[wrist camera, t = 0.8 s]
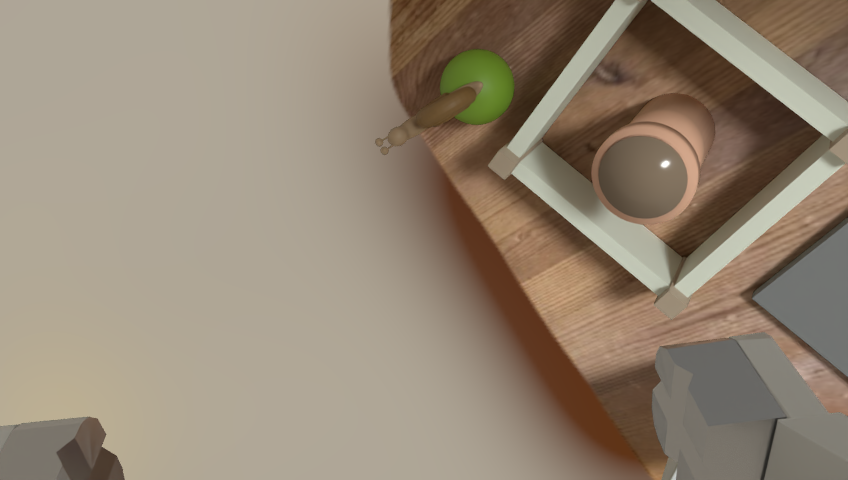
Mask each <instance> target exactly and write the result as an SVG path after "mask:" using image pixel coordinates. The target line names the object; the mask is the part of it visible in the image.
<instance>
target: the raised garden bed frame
mask: <svg viewBox="0 0 848 480" xmlns="http://www.w3.org/2000/svg"><path fill="white" fill-rule="evenodd" d="M647 1H648V0H615V1H614V3H613V4H612V5H611V7H610V8H609V9H608V11H607V12H606V13H605V15H604V16H603V17H602V19H601V20H600V22H599V23H598V24H597V26H596V27H595V28H594V30H593V31H592V32H591V34H590V35H589V36H588V38H587V39H586V41H585V42H584V43H583V45H582V46H581V47H580V49H579V50H578V51H577V53H576V54H575V55H574V57H573V58H572V60H571V61H570V62H569V64H568V65H567V66H566V68H565V69H564V70H563V72H562V73H561V74H560V76H559V77H558V78H557V80H556V81H555V83H554V84H553V85H552V87H551V88H550V89H549V91H548V92H547V93H546V95H545V96H544V97H543V99H542V100H541V102H540V103H539V104H538V106H537V107H536V108H535V110H534V111H533V112H532V114H531V115H530V116H529V118H528V119H527V121H526V122H525V123H524V125H523V126H522V127H521V129H520V130H519V131H518V133H517V134H516V135H515V137H514V138H513V139H512V140H511V141H510V142H508V143H507V144H506V145H505V146H504V147H502V148H501V149H500V150H499V151H498V152H497V154H496V155H495V156H494V158H493V159H492V160H491V162H490V163H489V165H488V167H489V168H490V169H492V170H493V171H494V172H495V173H496V174H498V175H499V176H500V177H501V178H502V179H504V180H505V179H506V178H507V177H508V176H510V175H511V174H513V175H514V176H515V177H516V178H517V179H519V180H520V181H521V182H522V183H523V184H525V185H526V186H527V187H528V188H529V189H531V190H532V191H533V192H534V193H535V194H537V195H538V196H539V197H540V198H541V199H543V200H544V201H545V202H546V203H547V204H549V205H550V206H551V207H552V208H553V209H555V210H556V211H557V212H558V213H559V214H561V215H562V216H563V217H564V218H565V219H567V220H568V221H569V222H570V223H571V224H572V225H574V226H575V227H576V228H577V229H578V230H580V231H581V232H582V233H583V234H584V235H586V236H587V237H588V238H589V239H590V240H592V241H593V242H594V243H595V244H596V245H598V246H599V247H600V248H601V249H602V250H604V251H605V252H606V253H607V254H608V255H610V256H611V257H612V258H613V259H614V260H616V261H617V262H618V263H619V264H620V265H622V266H623V267H624V268H625V269H626V270H628V271H629V272H630V273H631V274H632V275H634V276H635V277H636V278H637V279H638V280H640V281H641V282H642V283H643V284H644V285H646V286H647V287H648V288H649V289H650V290H652V291H653V292H654V293H655V294H656V295H658V296H657V298H656V300H655V302H654V306H655V307H657V308H658V309H659V310H660V311H661V312H663V313H664V314H665V315H666V316H667V317H669V318H670V319H671V320H672V319H673V318H674V317H676V316H677V315H678V314H679V313H680V312H682V311H683V310H684V309H685V308H686V307H687V306H688V303H689V301H690V298H691V296H692V294H693V293H694V292H695V291H696V290H697V289H699V288H700V287H701V286H702V285H703V284H704V283H706V282H707V281H708V280H709V279H710V278H711V277H713V276H714V275H715V274H716V273H717V272H719V271H720V270H721V269H722V268H723V267H724V266H726V265H727V264H728V263H729V262H730V261H731V260H733V259H734V258H735V257H736V256H737V255H738V254H740V253H741V252H742V251H743V250H744V249H746V248H747V247H748V246H749V245H750V244H751V243H753V242H754V241H755V240H756V239H757V238H758V237H760V236H761V235H762V234H763V233H764V232H765V231H767V230H768V229H769V228H770V227H771V226H773V225H774V224H775V223H776V222H777V221H778V220H780V219H781V218H782V217H783V216H784V215H785V214H787V213H788V212H789V211H790V210H791V209H792V208H794V207H795V206H796V205H797V204H798V203H800V202H801V201H802V200H803V199H804V198H805V197H807V196H808V195H809V194H810V193H811V192H812V191H814V190H815V189H816V188H817V187H818V186H819V185H821V184H822V183H823V182H824V181H825V180H827V179H828V178H829V177H830V176H831V175H832V174H834V173H835V172H836V171H837V170H838V169H839V168H841V167H842V166H843V165H844V164H845V163H846V164H848V102H847V101H846V100H845V99H843V98H842V97H841V96H840V95H838V94H837V93H836V92H834V91H833V90H832V89H830V88H829V87H828V86H827V85H825V84H824V83H823V82H821V81H820V80H819V79H817V78H816V77H815V76H814V75H812V74H811V73H810V72H808V71H807V70H806V69H804V68H803V67H802V66H800V65H799V64H798V63H797V62H795V61H794V60H793V59H791V58H790V57H789V56H787V55H786V54H785V53H784V52H782V51H781V50H780V49H778V48H777V47H776V46H774V45H773V44H772V43H771V42H769V41H768V40H767V39H765V38H764V37H763V36H761V35H760V34H759V33H758V32H756V31H755V30H754V29H752V28H751V27H750V26H748V25H747V24H746V23H745V22H743V21H742V20H741V19H739V18H738V17H737V16H735V15H734V14H733V13H732V12H730V11H729V10H728V9H726V8H725V7H724V6H722V5H721V4H720V3H718V2H717V1H716V0H651V1H652V2H654V3H655V4H656V5H657V6H659V7H660V8H661V9H663V10H664V11H665V12H666V13H668V14H669V15H670V16H672V17H673V18H674V19H675V20H677V21H678V22H679V23H681V24H682V25H683V26H684V27H686V28H687V29H688V30H689V31H691V32H692V33H693V34H695V35H696V36H697V37H698V38H700V39H701V40H702V41H704V42H705V43H706V44H707V45H709V46H710V47H711V48H713V49H714V50H715V51H716V52H718V53H719V54H720V55H722V56H723V57H724V58H725V59H727V60H728V61H729V62H731V63H732V64H733V65H734V66H736V67H737V68H738V69H740V70H741V71H742V72H743V73H745V74H746V75H747V76H749V77H750V78H751V79H752V80H754V81H755V82H756V83H758V84H759V85H760V86H761V87H763V88H764V89H765V90H767V91H768V92H769V93H770V94H772V95H773V96H774V97H776V98H777V99H778V100H779V101H781V102H782V103H783V104H785V105H786V106H787V107H788V108H790V109H791V110H792V111H794V112H795V113H796V114H797V115H799V116H800V117H801V118H803V119H804V120H805V121H806V122H808V123H809V124H810V125H812V126H813V127H814V128H815V129H817V130H818V131H819V132H821V133H822V134H823V135H822V136H821V137H820V138H819V139H818V140H816V141H815V142H814V143H813V144H812V145H811V146H810V147H809V148H808V149H806V150H805V151H804V152H803V153H802V154H801V155H800V156H799V157H798V158H797V159H795V160H794V161H793V162H792V163H791V164H790V165H789V166H788V167H787V168H785V169H784V170H783V171H782V172H781V173H780V174H779V175H778V176H777V177H775V178H774V179H773V180H772V181H771V182H770V183H769V184H768V185H767V186H766V187H764V188H763V189H762V190H761V191H760V192H759V193H758V194H757V195H756V196H754V197H753V198H752V199H751V200H750V201H749V202H748V203H747V204H746V205H745V206H743V207H742V208H741V209H740V210H739V211H738V212H737V213H736V214H735V215H733V216H732V217H731V218H730V219H729V220H728V221H727V222H726V223H725V224H724V225H722V226H721V227H720V228H719V229H718V230H717V231H716V232H715V233H714V234H712V235H711V236H710V237H709V238H708V239H707V240H706V241H705V242H704V243H702V244H701V245H700V246H699V247H698V248H697V249H696V250H695V251H694V252H693V253H691V254H690V255H689V256H688V257H687V258H686V257H685V256H684V257H683V258H682V257H681V256H680V255H679V254H678V253H676V252H675V251H674V250H673V249H671V248H670V247H669V246H668V245H667V244H665V243H664V242H663V241H662V240H661V239H659V238H658V237H657V236H656V235H654V234H653V233H652V232H651V231H650V230H648V229H647V228H646V227H645V226H644V225H641V224H635V223H631V222H628V221H625V220H623V219H621V218H619V217H617V216H616V215H614V214H613V213H612V212H610V211H609V210H608V209H607V208H606V207H605V206H604V205H603V204H602V202H601V201H600V199H599V198H598V196H597V194H596V192H595V190H594V187H593V184H592V183H591V182H590V181H589V180H588V179H586V178H585V177H584V176H583V175H582V174H580V173H579V172H578V171H577V170H575V169H574V168H573V167H572V166H571V165H569V164H568V163H567V162H566V161H565V160H563V159H562V158H561V157H560V156H558V155H557V154H556V153H555V152H554V151H552V150H551V149H550V148H549V147H548V146H546V145H545V144H544V143H543V142H542V141H543V139H542V137H543V136H544V135H545V133H546V132H547V131H548V129H549V128H550V127H551V125H552V124H553V123H554V122H555V120H556V119H557V118H558V116H559V115H560V114H561V112H562V111H563V110H564V109H565V107H566V106H567V105H568V103H569V102H570V101H571V100H572V98H573V97H574V96H575V94H576V93H577V92H578V90H579V89H580V88H581V87H582V85H583V84H584V83H585V81H586V80H587V79H588V77H589V76H590V75H591V74H592V72H593V71H594V70H595V68H596V67H597V66H598V65H599V63H600V62H601V61H602V59H603V58H604V57H605V55H606V54H607V53H608V52H609V50H610V49H611V48H612V46H613V45H614V44H615V43H616V41H617V40H618V39H619V37H620V36H621V35H622V33H623V32H624V31H625V30H626V28H627V27H628V26H629V24H630V23H631V22H632V20H633V19H634V18H635V17H636V15H637V14H638V13H639V11H640V10H641V9H642V8H643V6H644V5H645V4H646V2H647Z"/></svg>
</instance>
